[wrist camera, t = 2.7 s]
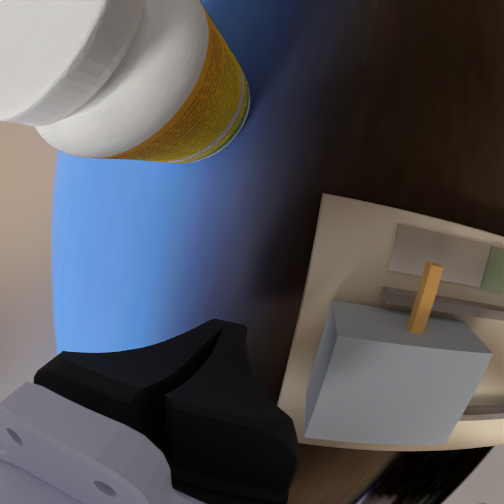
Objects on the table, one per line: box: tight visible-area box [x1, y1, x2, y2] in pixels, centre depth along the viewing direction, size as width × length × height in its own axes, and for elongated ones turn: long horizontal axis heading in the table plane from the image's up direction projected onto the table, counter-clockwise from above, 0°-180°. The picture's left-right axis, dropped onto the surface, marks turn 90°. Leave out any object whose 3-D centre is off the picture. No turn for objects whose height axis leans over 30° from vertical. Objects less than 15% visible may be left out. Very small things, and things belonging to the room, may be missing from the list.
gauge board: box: [277, 193, 504, 451], centre depth 12 cm, size 12×16×2 cm
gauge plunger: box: [304, 261, 493, 445], centre depth 10 cm, size 7×6×3 cm
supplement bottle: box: [0, 0, 250, 163], centre depth 8 cm, size 5×5×10 cm
